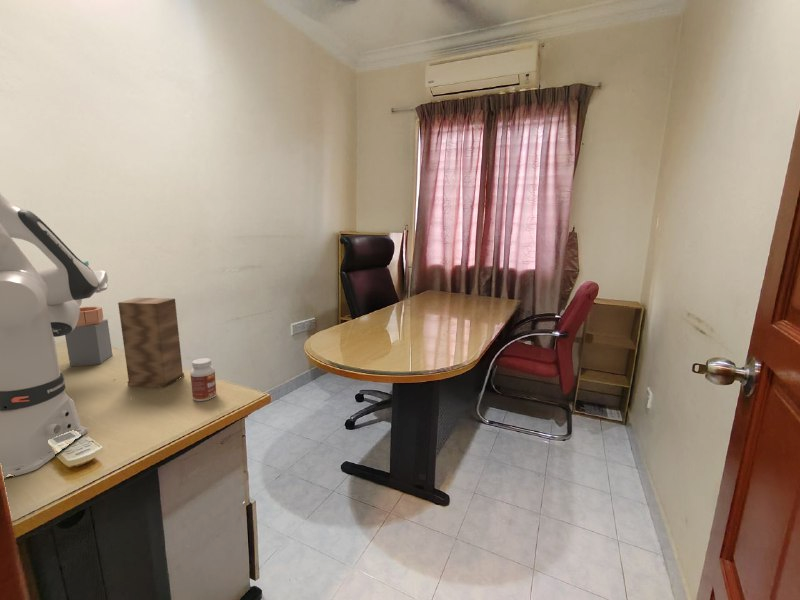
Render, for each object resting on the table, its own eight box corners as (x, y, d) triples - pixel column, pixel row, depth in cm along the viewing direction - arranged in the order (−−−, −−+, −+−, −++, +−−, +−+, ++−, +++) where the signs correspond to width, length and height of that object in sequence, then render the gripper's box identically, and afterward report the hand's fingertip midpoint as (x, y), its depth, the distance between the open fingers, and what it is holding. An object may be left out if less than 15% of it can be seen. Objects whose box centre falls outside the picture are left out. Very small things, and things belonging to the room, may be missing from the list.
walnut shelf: (127, 385, 114) (116, 302, 109) (149, 374, 123) (139, 297, 118) (165, 387, 113) (155, 304, 108) (184, 375, 122) (176, 298, 117)
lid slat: (75, 271, 119) (74, 266, 119) (59, 272, 117) (58, 266, 117) (88, 265, 136) (88, 261, 136) (74, 265, 134) (73, 261, 134)
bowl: (95, 325, 128) (93, 311, 127) (63, 327, 126) (61, 312, 125) (107, 319, 137) (105, 306, 136) (78, 320, 134) (76, 307, 133)
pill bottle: (212, 401, 105) (209, 364, 103) (189, 402, 104) (185, 365, 102) (219, 391, 111) (216, 356, 109) (197, 392, 110) (194, 357, 108)
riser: (100, 364, 131) (95, 325, 128) (70, 366, 129) (63, 327, 126) (112, 355, 140) (107, 319, 137) (84, 357, 137) (78, 320, 134)
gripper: (104, 283, 115) (107, 257, 124) (13, 288, 105) (24, 260, 114) (108, 298, 119) (111, 273, 128) (21, 305, 109) (30, 276, 118)
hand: (69, 267), depth 121 cm, fingers closed on lid slat, 4 cm apart
